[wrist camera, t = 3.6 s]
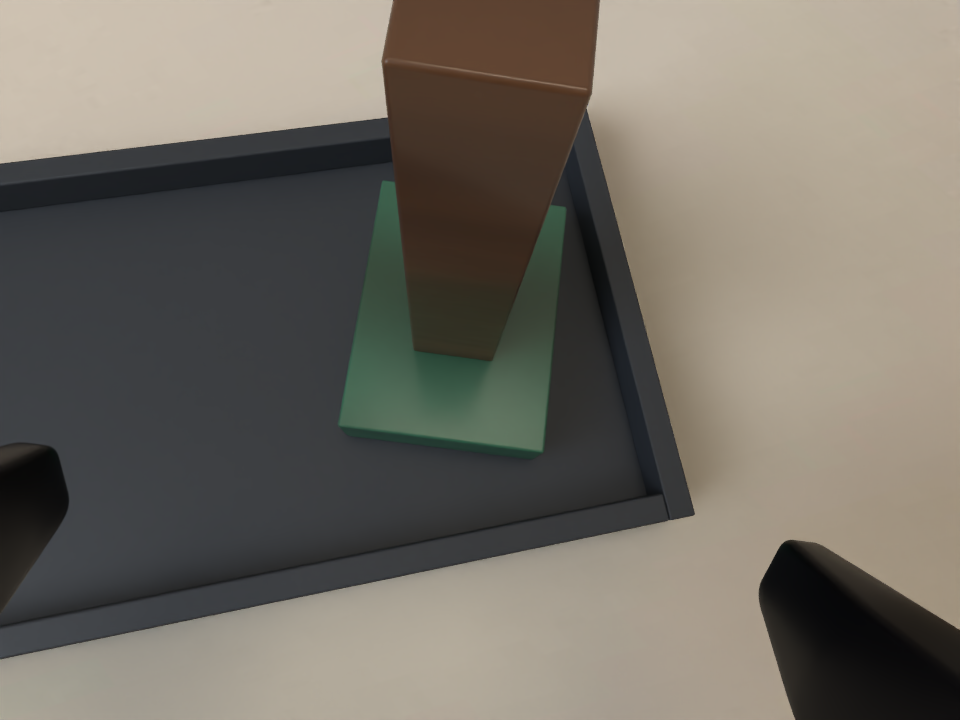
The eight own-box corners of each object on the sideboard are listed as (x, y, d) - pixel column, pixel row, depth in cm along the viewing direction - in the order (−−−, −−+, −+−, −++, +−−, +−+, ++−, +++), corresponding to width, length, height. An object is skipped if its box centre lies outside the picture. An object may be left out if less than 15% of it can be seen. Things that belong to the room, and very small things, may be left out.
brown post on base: (533, 460, 20) (747, 326, 6) (346, 435, 20) (156, 244, 6) (555, 233, 22) (752, -227, 8) (386, 209, 22) (311, -306, 8)
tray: (569, 132, 24) (583, 93, 22) (667, 516, 21) (696, 515, 18) (-97, 217, 21) (-159, 181, 19) (-112, 676, 18) (-190, 698, 16)
